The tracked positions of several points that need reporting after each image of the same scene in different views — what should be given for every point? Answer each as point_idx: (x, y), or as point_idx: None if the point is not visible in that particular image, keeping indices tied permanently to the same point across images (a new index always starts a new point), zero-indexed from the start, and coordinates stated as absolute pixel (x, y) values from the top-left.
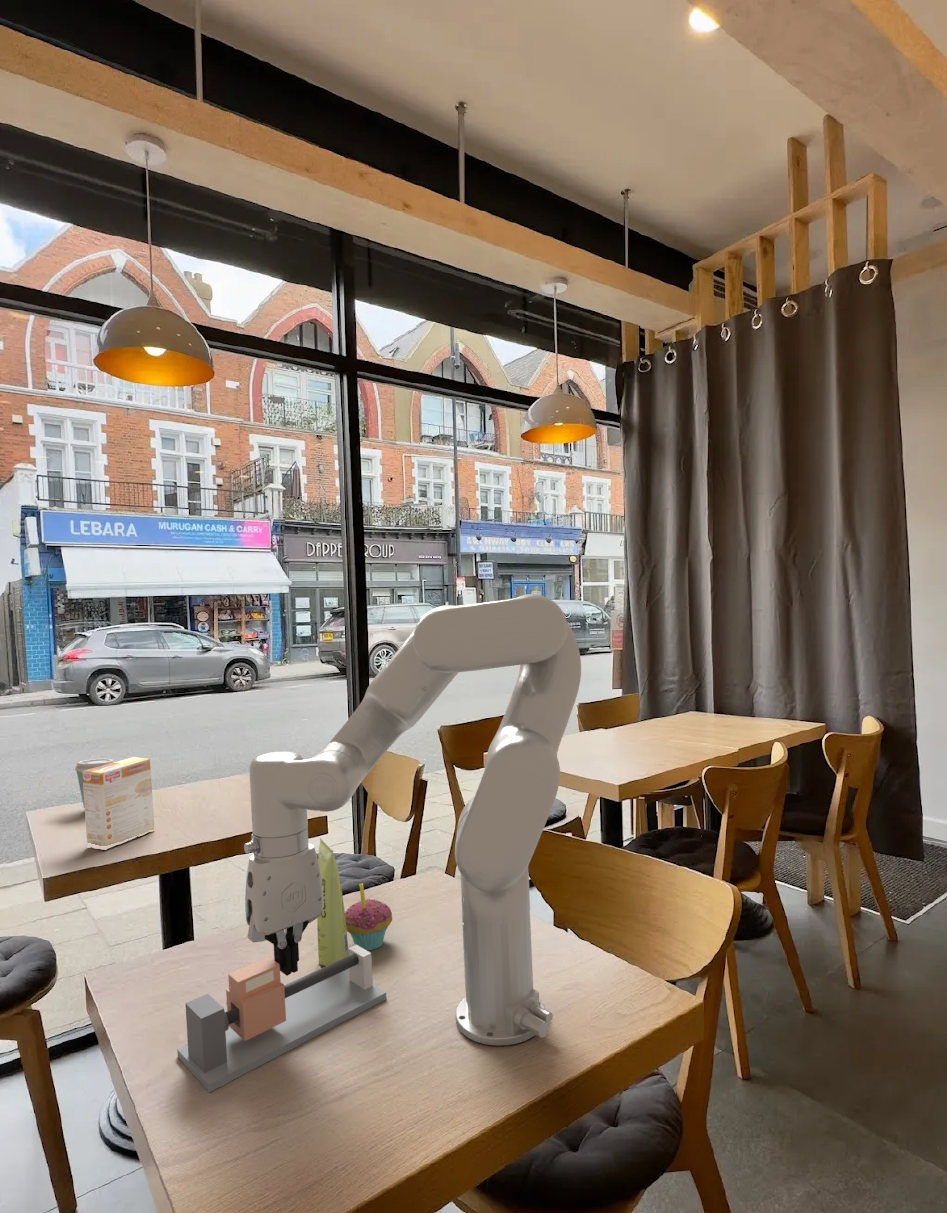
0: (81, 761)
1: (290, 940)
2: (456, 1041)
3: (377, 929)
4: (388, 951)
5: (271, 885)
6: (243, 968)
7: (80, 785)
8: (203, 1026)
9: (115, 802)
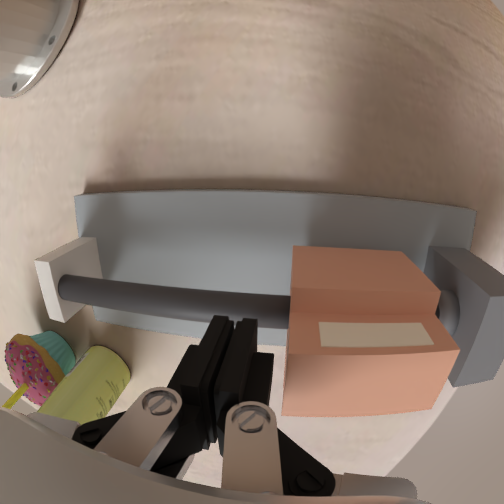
0: None
1: (196, 418)
2: (89, 14)
3: (27, 339)
4: (42, 311)
5: None
6: (387, 411)
7: None
8: None
9: None
